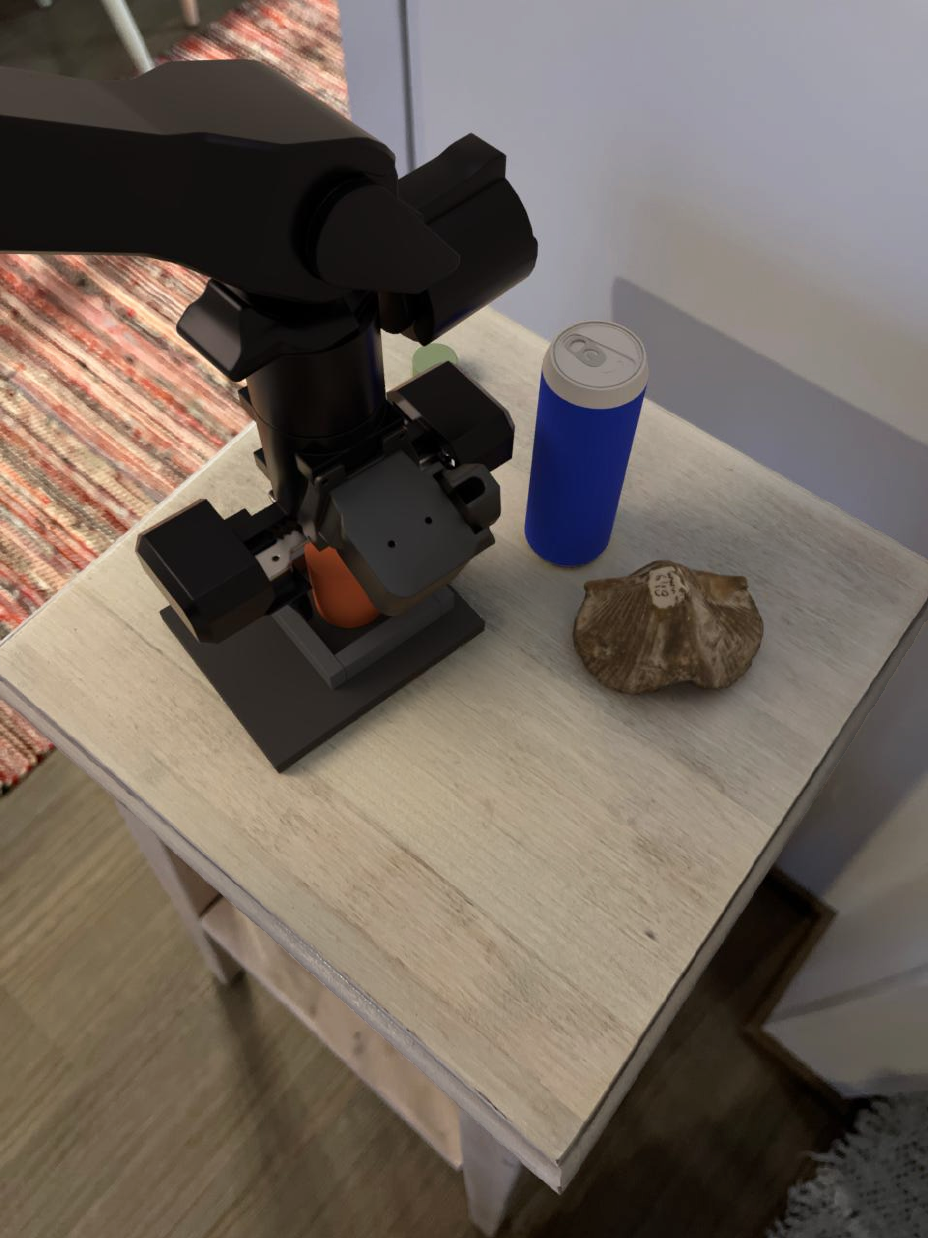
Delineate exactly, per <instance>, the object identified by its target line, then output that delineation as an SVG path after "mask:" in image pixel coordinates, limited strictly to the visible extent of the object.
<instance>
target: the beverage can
mask: <svg viewBox="0 0 928 1238" xmlns="http://www.w3.org/2000/svg"><path fill="white" fill-rule="evenodd" d="M648 363H649V362H648V357H647V353H646V348H645V345H644V344H643V342H642V340H641V339H640V338H639V337H638V336H637V334H635V333H634V332H633V330H630V329H629V328H627V327H625V326H624V325H621V324H618V323H617V322H614V321H609V320H602V319H589V320H582V321H578V322H575V323H572V324H570V325H568V326H566V327H565V328H563V329H562V330H560V331H559V332H558V333H557V334H556V335H555V337H554V338H553V340H552V341H551V343H550V344H549V346H548V348H547V349H546V351H545V352H544V356H543V357H542V363H541V369H540V370H541V371H540V379H539V380H540V381H539V388H538V389H539V390H538V397H537V398H538V399H537V407H536V408H537V409H536V418H535V427H534V435H533V443H532V445H533V446H532V454H531V463H530V472H529V480H528V481H529V482H528V490H527V500H526V507H525V515H524V516H525V518H524V529H523V530H524V537H525V540H526V542H527V544H528V546H529V548H530V549H531V550H532V551H533V552H534V553H535V554H536V555H537V556H538V557H539V558H541V559H543V560H544V561H546V562H548V563H550V564H552V565H556V566H560V567H578V566H579V567H580V566H583V565H587V564H589V563H591V562H593V561H594V560H597V559H598V558H599V557H601V555H603V553H604V552H605V551H606V549H607V547H608V546H609V543H610V541H611V536H612V531H613V527H614V523H615V520H616V516H617V511H618V507H619V503H620V499H621V494H622V490H623V487H624V483H625V478H626V474H627V469H628V466H629V462H630V458H631V453H632V449H633V444H634V440H635V435H636V432H637V428H638V424H639V420H640V416H641V412H642V407H643V403H644V399H645V396H646V395H645V394H646V390H647V386H648V382H649V378H650V377H649V376H650V369H649V364H648Z"/></svg>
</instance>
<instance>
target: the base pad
mask: <svg viewBox="0 0 928 1238" xmlns="http://www.w3.org/2000/svg"><path fill="white" fill-rule="evenodd" d="M291 559H292V563H293V564H294V566H295V567H296V568H297V569H298V570H299V571H300V573H301V574H302V575H303V576H304V577H305V578H306V580H307V581H308V582H309V583H310V584H311V581H310V576H309V572H308V567H307V563H306V558H305V545H304V546H303V547H301V548H300V549H298V550H296V551H295V552H293V553H292V555H291ZM307 594H308V596H309V599H310V601H311V604H312V607H313V618H312V619H310V620H309V621H306V620H305V619H304V618H303V617H302V616H300V615H299V614H298V613H297V612H296V611H294V610H293V609H292V608H291V607H290V606H288V605H286V606H285V607H283V608H281V609H280V610H278V611H277V612H275V613H274V614H272V615H269V616H262V617H260V618H259V619H257V620H255V621H254V622H252V623H251V624H249V625H247V626H246V627H244V628H243V629H241V630H240V631H238V632H236V633H235V634H233V635H232V636H230V637H228V638H227V639H225V640H224V641H222V642H221V643H219V644H217V645H213V644H203V643H199V642H198V640H197V639H196V638H195V636H194V635H193V634H192V632H191V631H190V630H189V628H188V627H187V626H186V625H185V623H184V622H183V621H182V619H181V618H180V617H179V615H178V614H177V613H176V611H175V610H174V609H173V608H172V606H171V605H170V604H169V605H167V606H165V607H164V608H162V609H160V610H159V611H158V614H159V615H160V617H161V619H162V621H163V622H164V624H165V625H166V627H167V628H168V629H169V630H170V632H171V633H172V634H173V636H174V637H175V639H177V641H178V642H179V643H180V645H181V646H182V647H183V649H184V650H185V651H186V653H187V654H188V656H189V657H190V659H192V661H193V662H194V663H195V665H196V667H198V669H199V670H200V672H201V673H202V674H203V676H204V677H205V679H207V681H208V682H209V684H210V685H211V686H212V687H213V689H214V691H216V693H217V694H218V695H219V696H220V698H221V699H222V700H223V702H224V703H225V704H226V707H228V708H229V711H231V713H232V714H233V715H234V716H235V718H236V720H238V721H239V723H240V724H241V726H242V728H244V730H245V731H246V733H247V734H248V735H249V737H250V738H251V739H252V741H253V742H254V743H255V745H256V746H257V747H258V749H259V750H260V751H261V752H262V754H263V755H264V756H265V758H266V759H267V760H268V762H269V764H270V765H271V766H272V767H273V768H274V770H275V771H276V772H277V774H281V773H283V772H284V771H285V770H287V769H289V768H290V767H291V766H293V765H294V764H295V763H297V762H298V761H300V760H301V759H302V758H304V757H305V756H307V755H308V754H310V753H312V752H313V751H314V750H316V749H317V748H318V747H320V746H321V745H323V744H325V742H327V741H329V740H330V739H332V738H333V737H334V736H336V735H337V734H339V733H340V732H342V731H343V730H344V729H345V728H347V727H348V726H350V725H351V724H353V723H354V722H356V721H357V720H358V719H360V718H361V717H363V716H364V715H365V714H367V713H369V712H370V711H372V710H373V709H374V708H376V707H377V706H378V705H380V704H381V703H383V702H384V701H387V699H389V698H390V697H391V696H393V695H394V694H396V693H397V692H398V691H400V690H402V689H403V688H404V687H406V686H407V685H408V684H410V683H411V682H412V681H414V680H415V679H417V678H419V677H420V676H421V675H423V674H424V673H426V672H427V671H429V670H430V669H431V668H433V667H434V666H436V665H437V664H438V663H440V662H442V661H443V660H444V659H446V658H447V657H449V656H450V655H451V654H453V653H455V652H456V651H458V650H459V649H460V648H461V647H463V646H464V645H465V644H467V643H469V642H470V641H472V640H473V639H475V638H476V637H477V636H479V635H481V633H483V632H485V630H486V621H485V620H484V619H483V618H482V617H481V616H480V615H479V613H478V612H476V611H475V610H474V608H473V607H472V606H471V604H469V603H468V602H467V601H466V600H465V599H464V598H463V596H461V595H460V593H459V592H458V591H457V590H456V589H455V588H454V587H453V586H452V585H451V583H449V584H447V585H445V586H443V587H442V588H440V589H439V590H437V591H436V592H434V593H433V594H431V595H430V596H428V597H427V598H425V599H424V600H422V601H421V602H419V603H418V604H416V605H415V606H414V607H412V608H411V609H410V610H408V611H407V612H405V613H403V614H401V615H398V616H387V615H384V614H382V613H380V614H379V616H378V617H377V618H376V619H374V620H373V621H372V622H370V623H368V624H366V625H364V626H361V627H357V628H341V627H337V626H335V625H332V624H330V623H329V622H327V621H326V620H325V619H324V618H323V617H322V616H321V615H320V613H319V612H318V610H317V607H316V603H315V598H314V594H313V589H311V590H310V591H308V592H307Z"/></svg>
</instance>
